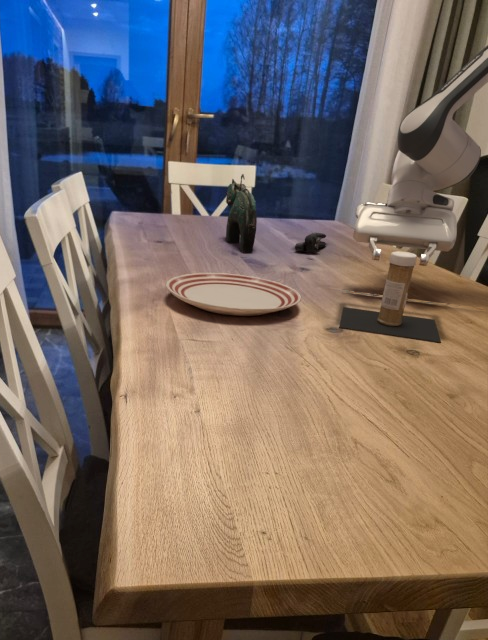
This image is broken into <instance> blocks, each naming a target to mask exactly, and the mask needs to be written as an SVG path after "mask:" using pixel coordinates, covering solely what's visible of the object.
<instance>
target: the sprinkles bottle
mask: <svg viewBox="0 0 488 640" xmlns="http://www.w3.org/2000/svg"><path fill="white" fill-rule="evenodd" d="M417 259H418V256H417V254H416V253H413V252H408V251H401V250H400V251H398V250H397V251H392V252H391V254H390V257H389V267H388V272H387V274H386V275H387V277H386V279H385V284H384V288H383V293H382V298H381V303H380V309H379V312H380V313H379V317H378V322H379V323H381V324H383V325H387V326H399V325H401V323H402V316H403V315H404V311H405V308H406V305H407V299H408V295H409V289H410V285H411V281H412V276H413V271H414V268H415V266H416V263H417Z"/></svg>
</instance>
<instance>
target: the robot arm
mask: <svg viewBox="0 0 488 640" xmlns="http://www.w3.org/2000/svg"><path fill="white" fill-rule="evenodd" d="M486 84H488V44H487V45H486V46H485V47H483V49H481V50H480V51H479V52H478V53H476V55H475V56H473V58H471V59H470V60H468V62H467V63H466V64H465V65H464V66H463V67H462V68H460V70H458V71H457V72H456V73H455V74H454V75H453V76H452V77H451V78H449V79H448V80H447V81H446V82H445V83H444V84H443V85H442V86H441V87H440V88H439V89H437V90H436V91H435V92H434V93H433V94H431V96H430V97H428V98H427V99H426V100H425V101H423V102H422V103H420V104H418V105H417V106H416V107H414V108H413V109H412V110H411V111H409V113H407V114H406V116H405V117H404V118H403V120H402V121H401V123H400V124H399V127H398V130H397V148H398V151H397V153H396V156H395V159H394V161H393V167H392V170H391V177H390V182H391V185H390V188H389V190H388V193H387V199H386V203H385V202H382V203H381V202H371V201H365V202H364V203H361V204H358V206H357V207H356V210H355V217H356V222H355V225H354V228H353V229H354V230H353V234H352V238H353V239H354V241H355V242H357V243H365V244H368V248H369V251H370V252H371V254H372V256H371V260H372V261H380V259H381V253H382V249H381V248H377V245H381V246H382V245H383V246H391V247H392V246H393V247H401V248H409V249H410V248H412V249H420V250H426V253H421V255H420V258H419V262H418V264H419V266H422V267H427V266H428V263H429V259H430V258H431V257H432V256H433V255H434V254H435V252H436V251H437V252H438V251H439V252H449V251H451V250H452V249H453V248H454V246H455V244H456V241H457V234H458V233H457V232H458V223H457V217H456V214H455V212H453V210H454V206H455V201H454V199H453V198H450V197H447V196H444V195H442V194H439V193H437V192H438V191H443V190H446V189H449V188H453V187H455V186H458V185H460V184H462V183H464V182H466V181H467V180H469V179H470V178H471V176H473V174H474V173H475V171H476V169H477V168H478V166H479V163H480V160H481V157H482V149H481V147H480V145H479V144H478V143H477V142H476V141H475V139H473V138H472V137H471V136H470V134H468V132H467V131H465V130H464V129H463V128H462V127H461V126H460V125H459V124H458V123H457V122H456V121H455V120H454V119H453V117H454V114H455V113H456V111H458V109H460V108H461V107H462V106H463V105H464V104H465V103H466V102H467V101H469V99H471V98H472V97H473V96H474V95H475V94H476V93H478V92H479V91H480V90H481V89H482V88H483V87H484V86H485V85H486Z"/></svg>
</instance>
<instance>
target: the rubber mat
mask: <svg viewBox="0 0 488 640" xmlns="http://www.w3.org/2000/svg"><path fill="white" fill-rule="evenodd" d="M379 313H380V311H375V310H369V309H368V310H367V309H361V308H354V307H347V306H343V307H342V312H341V317H340V322H339V326H338V328H339V329H341V330H349V331H356V332H364V333H369V334H370V333H371V334H375V335H382V336H384V335H385V336H390V337H397V338H402V339H403V338H404V339H411V340H418V341H423V342H424V341H425V342H431V343H437V344H441V343H442V340H441V337H440V334H439V330H438V326H437V323H436V320H435V319H433V318H425V317H419V316H411V315H404V314H403V316H402V323H401V325H399V326H387V325H383V324H381V323H379V322H378V317H379Z"/></svg>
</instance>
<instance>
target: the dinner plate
mask: <svg viewBox="0 0 488 640" xmlns="http://www.w3.org/2000/svg"><path fill="white" fill-rule="evenodd" d="M165 288H166V289H167V291H168V292H169V293H171V294H172V295H173V296H174V297H176V298H178V300H180V301H182V302H185V303H186V304H189V305H190V306H191V305H192V306H193V307H196V308H197V309H200V310H203V311H206V312H210V313H215V314H220V315H227V316H239V317H240V316H241V317H251V316H253V317H254V316H261V315H262V316H263V315H267V314H271V313H275V312H279V311H283V310H286V309H289V308H290V307H293V306H296V305H298V304H299V303H300V302H301V301H302V296H301V294H300V292H298V290H296V289H294V288H293V287H290V286H288V285H286V284H283V283H280V282H278V281H274V280H270V279H267V278H263V277H257V276H252V275H244V274H237V273H227V272H195V273H194V272H193V273H186V274H181V275H177V276H174V277H172V278H169V279H168V280H167V281H166V283H165Z"/></svg>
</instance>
